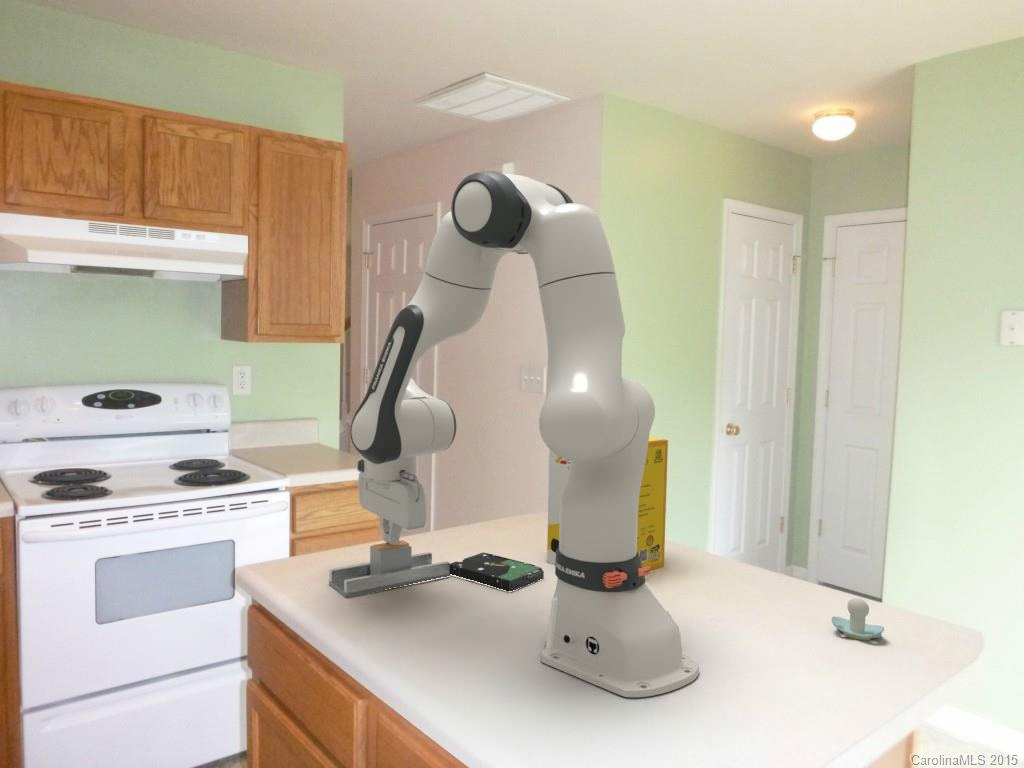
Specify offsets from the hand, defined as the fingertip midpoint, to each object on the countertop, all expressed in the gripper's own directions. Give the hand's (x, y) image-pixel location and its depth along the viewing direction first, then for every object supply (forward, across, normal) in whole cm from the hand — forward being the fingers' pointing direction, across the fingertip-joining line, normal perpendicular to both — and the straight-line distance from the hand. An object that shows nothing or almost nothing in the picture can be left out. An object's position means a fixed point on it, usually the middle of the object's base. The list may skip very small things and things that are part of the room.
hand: (391, 542), depth 136 cm
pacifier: (+8, -60, -49) cm, 78 cm away
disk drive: (+8, -8, -18) cm, 21 cm away
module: (+6, 0, 0) cm, 6 cm away
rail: (+7, 0, 0) cm, 7 cm away
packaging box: (+7, -13, -40) cm, 43 cm away
